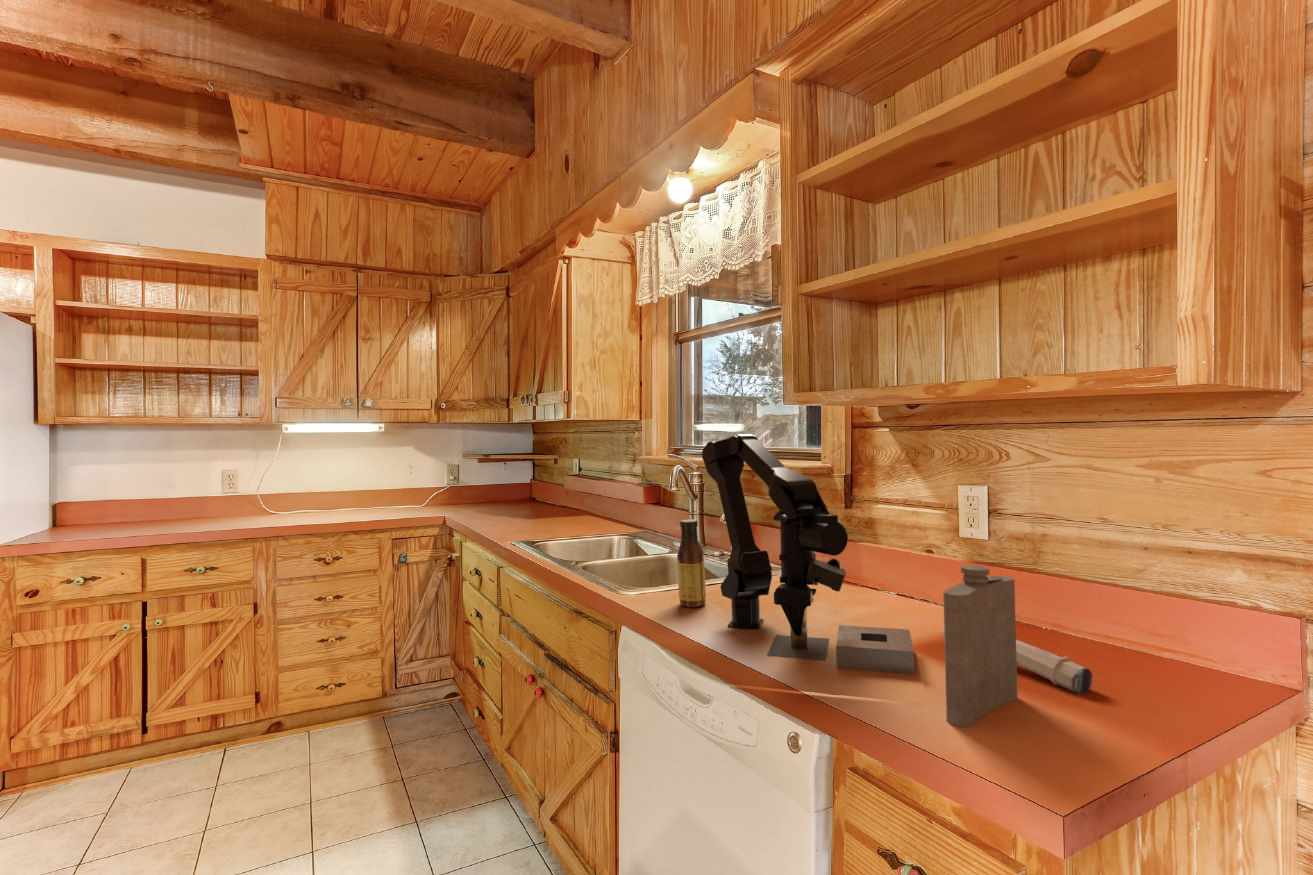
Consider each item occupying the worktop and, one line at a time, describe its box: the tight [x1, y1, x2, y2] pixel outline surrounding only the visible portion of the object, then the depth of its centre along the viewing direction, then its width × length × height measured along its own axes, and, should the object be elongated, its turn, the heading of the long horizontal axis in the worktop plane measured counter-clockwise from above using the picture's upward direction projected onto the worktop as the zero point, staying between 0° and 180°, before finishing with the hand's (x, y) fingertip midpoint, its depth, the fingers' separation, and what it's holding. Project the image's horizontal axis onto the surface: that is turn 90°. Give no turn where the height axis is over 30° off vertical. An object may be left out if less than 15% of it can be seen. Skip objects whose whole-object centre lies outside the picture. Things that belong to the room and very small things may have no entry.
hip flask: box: [943, 564, 1018, 728], centre depth 90 cm, size 16×4×20 cm, turn 126°
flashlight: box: [941, 627, 1094, 694], centre depth 106 cm, size 5×7×25 cm
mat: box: [766, 634, 830, 661], centre depth 117 cm, size 12×10×1 cm
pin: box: [789, 607, 808, 650], centre depth 117 cm, size 3×3×9 cm
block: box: [835, 624, 915, 675], centre depth 110 cm, size 12×12×4 cm
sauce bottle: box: [676, 518, 707, 608], centre depth 149 cm, size 6×6×20 cm
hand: (798, 632), depth 117 cm, fingers closed on pin, 3 cm apart
